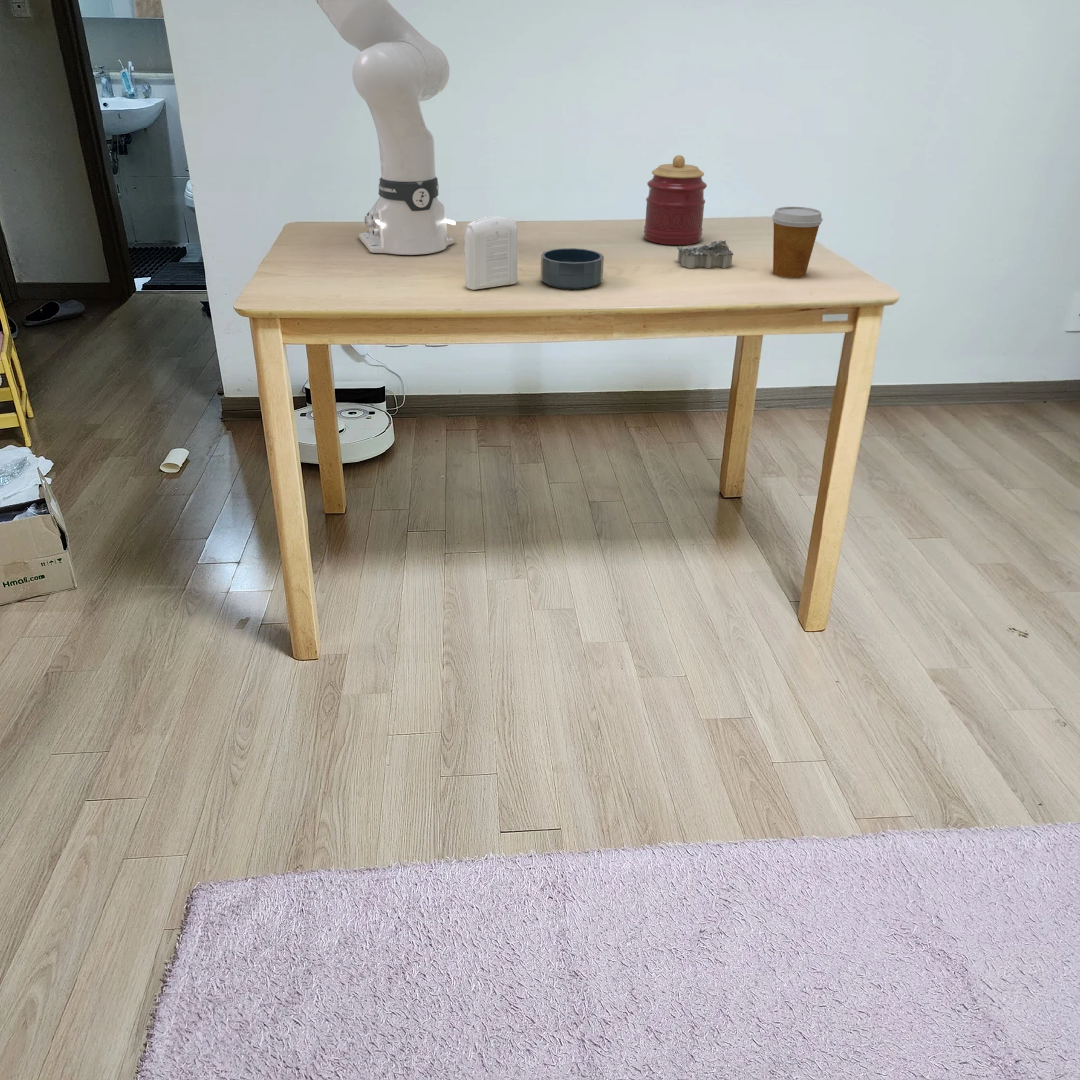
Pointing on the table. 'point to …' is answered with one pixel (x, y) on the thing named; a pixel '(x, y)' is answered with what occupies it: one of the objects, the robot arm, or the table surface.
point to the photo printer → (490, 252)
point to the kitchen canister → (675, 204)
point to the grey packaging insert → (706, 255)
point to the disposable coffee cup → (794, 240)
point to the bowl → (572, 268)
